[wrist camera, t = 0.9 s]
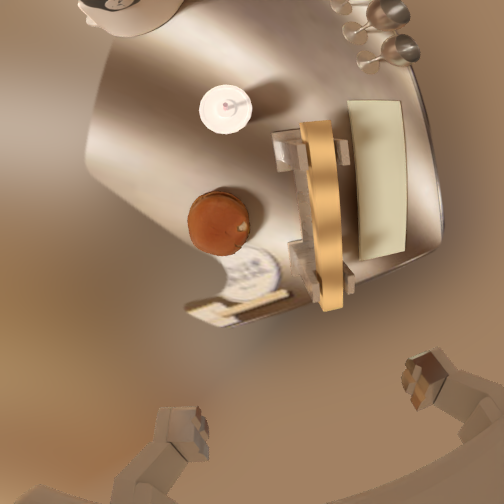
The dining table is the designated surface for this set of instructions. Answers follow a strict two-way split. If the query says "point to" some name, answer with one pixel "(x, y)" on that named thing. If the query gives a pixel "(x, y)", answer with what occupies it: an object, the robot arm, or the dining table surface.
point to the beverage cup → (225, 109)
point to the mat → (379, 176)
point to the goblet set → (387, 19)
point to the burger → (218, 223)
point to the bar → (324, 211)
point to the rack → (306, 207)
